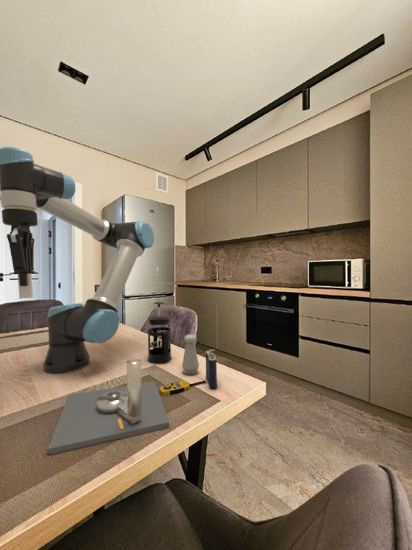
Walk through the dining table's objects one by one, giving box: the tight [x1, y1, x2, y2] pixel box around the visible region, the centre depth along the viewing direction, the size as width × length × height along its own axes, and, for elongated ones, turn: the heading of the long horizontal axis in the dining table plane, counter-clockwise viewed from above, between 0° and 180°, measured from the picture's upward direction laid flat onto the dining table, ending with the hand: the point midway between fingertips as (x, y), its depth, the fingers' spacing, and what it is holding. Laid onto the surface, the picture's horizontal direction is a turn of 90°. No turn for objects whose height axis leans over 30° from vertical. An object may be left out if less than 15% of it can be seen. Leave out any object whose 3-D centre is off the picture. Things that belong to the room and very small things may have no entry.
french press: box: [147, 301, 173, 365], centre depth 98 cm, size 12×9×23 cm
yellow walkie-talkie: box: [158, 380, 207, 397], centre depth 75 cm, size 5×2×15 cm
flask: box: [205, 349, 218, 391], centre depth 78 cm, size 9×3×11 cm, turn 8°
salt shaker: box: [182, 334, 200, 376], centre depth 86 cm, size 6×6×13 cm
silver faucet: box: [97, 358, 143, 424], centre depth 61 cm, size 16×8×14 cm, turn 48°
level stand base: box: [47, 380, 170, 455], centre depth 63 cm, size 22×24×1 cm
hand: (26, 297), depth 67 cm, fingers closed
